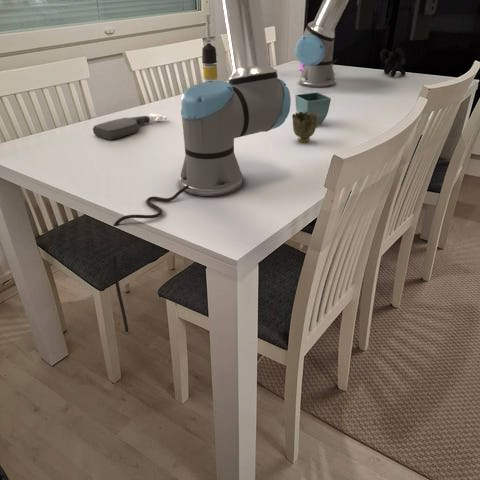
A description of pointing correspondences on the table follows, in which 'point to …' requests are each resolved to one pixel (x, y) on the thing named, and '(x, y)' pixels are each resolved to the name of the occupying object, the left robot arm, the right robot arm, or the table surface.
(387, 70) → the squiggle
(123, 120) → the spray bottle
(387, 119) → the table surface
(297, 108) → the teal square planter
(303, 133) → the cup
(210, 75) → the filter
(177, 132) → the table surface
